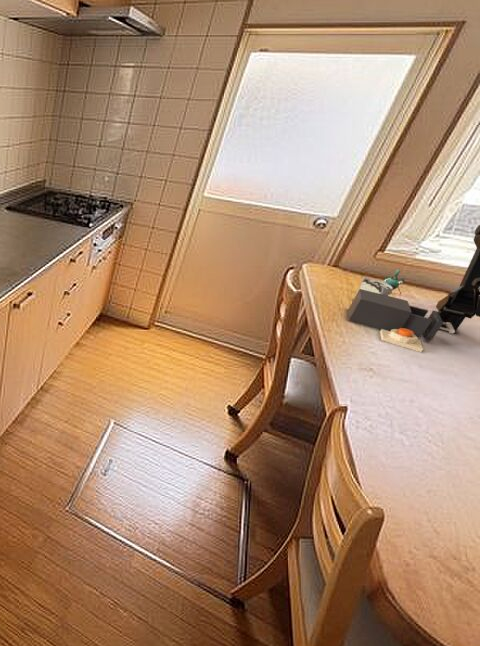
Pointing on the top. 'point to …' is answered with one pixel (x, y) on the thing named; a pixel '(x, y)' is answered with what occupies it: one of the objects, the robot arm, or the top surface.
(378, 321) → the charcoal rectangular box
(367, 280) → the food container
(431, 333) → the fryer drawer
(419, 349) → the block
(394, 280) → the frog figurine
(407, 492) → the top surface
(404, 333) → the button
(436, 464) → the top surface
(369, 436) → the top surface
